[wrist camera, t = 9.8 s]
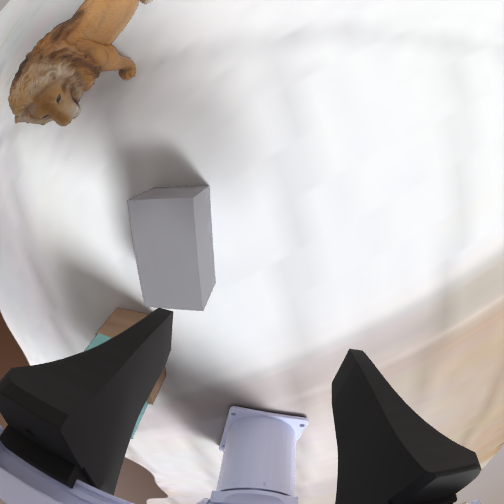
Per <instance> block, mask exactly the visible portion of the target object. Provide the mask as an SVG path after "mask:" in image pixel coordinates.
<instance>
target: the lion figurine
mask: <svg viewBox="0 0 504 504" xmlns="http://www.w3.org/2000/svg"><path fill="white" fill-rule="evenodd" d="M140 1H141V2H142V3H145V4H147V3H149V2H151V1H152V0H140ZM138 3H139V0H85V2H84V3H83V4H82V5H81V6H80V8H79V9H78V10H77V12H76V13H75V14H74V16H73V17H72V18H71V19H69V20H67V21H65V22H63V23H61V24H59V25H57V26H56V27H55V28H54V29H53V30H52V31H51V32H50V33H47V34H46V36H45V37H44V38H43V39H41V40H40V41H39V42H38V43H37V46H35V47H34V48H33V50H32V51H31V52H30V53H28V54H27V55H26V59H25V60H24V61H23V62H22V63H21V64H20V67H19V70H18V72H17V73H16V75H15V78H14V80H13V81H12V85H11V88H10V96H9V97H8V101H9V106H10V108H11V110H12V113H13V114H14V115H15V123H18V122H26V123H33V124H41V125H45V124H46V123H48V122H50V121H53V120H54V121H55V122H56V123H57V124H58V125H60V126H66V125H67V124H69V123H70V122H71V121H72V119H74V118H76V117H77V116H78V115H79V113H80V111H81V108H80V106H79V104H78V102H79V101H80V98H81V97H82V93H83V91H87V90H89V89H90V87H91V86H92V85H93V84H94V81H95V79H96V78H98V76H99V74H100V72H102V71H113V70H119V69H120V71H119V75H120V76H121V78H122V79H123V80H125V79H130V78H132V77H134V76H135V73H136V68H135V64H134V63H133V62H132V61H131V60H130V58H128V57H123V56H121V55H120V54H119V53H118V52H117V50H116V48H115V47H114V46H113V45H111V43H112V42H113V41H114V40H115V39H116V38H117V37H118V35H119V34H120V33H121V32H122V31H123V29H124V28H125V27H126V25H127V24H128V22H129V21H130V19H131V18H132V16H133V15H134V13H135V11H136V9H137V7H138Z"/></svg>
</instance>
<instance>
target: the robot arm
mask: <svg viewBox="0 0 504 504" xmlns="http://www.w3.org/2000/svg"><path fill="white" fill-rule="evenodd" d="M172 321H173V311H169V310H166V309H162V308H158V309H156V310H154V311H153V312H151V313H150V314H149V315H147V316H146V317H144V318H143V319H141V320H140V321H138V322H137V323H136V324H134V325H132V326H131V327H129V328H128V329H126V330H125V331H123V332H122V333H120V334H118V335H116V336H115V337H113V338H111V339H109V340H108V341H106V342H104V343H102V344H100V345H98V346H96V347H94V348H91V349H89V350H87V351H84V352H82V353H79V354H76V355H73V356H70V357H67V358H64V359H61V360H57V361H53V362H49V363H44V364H39V365H33V366H25V367H16V368H11V369H10V370H9V371H8V373H7V374H6V375H5V376H4V377H3V378H2V379H1V380H0V413H1V414H2V416H3V417H4V419H5V421H6V422H7V423H8V426H7V427H6V428H5V430H4V429H3V428H2V427H1V426H0V499H1V500H3V501H4V502H5V503H7V504H133V503H131V502H128V501H126V500H123V499H120V498H118V497H115V496H114V492H115V487H116V484H117V480H118V476H119V473H120V469H121V466H122V463H123V459H124V456H125V453H126V450H127V447H128V444H129V441H130V438H131V436H132V433H133V430H134V427H135V425H136V422H137V420H138V417H139V415H140V413H141V411H142V408H143V407H144V405H145V403H146V401H147V399H148V397H149V395H150V393H151V392H152V390H153V388H154V386H155V384H156V382H157V380H158V378H159V377H160V375H161V373H162V371H163V369H164V366H165V364H166V361H167V358H168V356H169V353H170V350H171V336H172ZM332 408H333V416H334V423H335V431H336V439H337V446H338V479H337V493H336V502H335V504H453V503H454V502H456V501H457V497H456V493H457V492H459V491H460V490H461V489H463V488H464V487H465V486H467V485H468V484H469V483H470V482H472V481H473V480H474V479H475V478H476V477H477V476H478V475H479V473H480V471H481V467H480V464H479V461H478V458H477V456H476V453H475V452H473V451H471V450H469V449H467V448H465V447H463V446H461V445H459V444H457V443H455V442H454V441H452V440H450V439H449V438H447V437H446V436H444V435H443V434H441V433H440V432H438V431H437V430H436V429H434V428H433V427H432V426H430V425H429V424H428V423H427V422H425V421H424V420H423V419H422V418H421V417H420V416H419V415H418V414H416V413H415V412H414V411H413V410H412V409H411V408H410V407H409V406H408V405H407V404H406V403H405V402H404V401H403V399H402V398H401V397H400V396H399V395H398V394H397V393H396V392H395V390H394V389H393V388H392V387H391V386H390V384H389V383H388V382H387V381H386V379H385V378H384V377H383V376H382V374H381V373H380V372H379V370H378V369H377V368H376V367H375V365H374V364H373V363H372V361H371V360H370V359H369V358H368V356H367V355H366V354H365V353H364V352H363V351H361V350H354V349H349V351H348V353H347V355H346V357H345V359H344V361H343V363H342V364H341V366H340V368H339V370H338V372H337V374H336V376H335V378H334V380H333V382H332ZM307 424H308V419H307V418H305V417H297V416H290V415H283V414H276V413H270V412H264V411H258V410H253V409H248V408H243V407H238V406H232V407H230V410H229V413H228V417H227V421H226V424H225V428H224V432H223V435H222V439H221V443H220V446H219V450H220V451H223V452H224V454H223V459H222V464H221V469H220V475H219V480H218V485H217V490H216V491H212V494H211V498H210V499H207V498H204V499H202V500H201V501H200V502H198V503H197V504H298V497H295V452H296V442H297V440H298V439H299V437H300V436H301V434H302V432H303V431H304V429H305V428H306V426H307ZM466 504H481V503H480V500H478V499H477V500H474V501H471V502H469V503H466Z"/></svg>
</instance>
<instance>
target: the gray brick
mask: <svg viewBox="0 0 504 504" xmlns="http://www.w3.org/2000/svg"><path fill="white" fill-rule="evenodd" d="M127 201H128V209H129V217H130V224H131V232H132V238H133V245H134V251H135V257H136V263H137V269H138V274H139V280H140V285H141V290H142V295H143V300H144V304H145V307H156V308H168V309H181V310H196V311H204V308H205V306H206V304H207V301H208V299H209V297H210V294H211V292H212V290H213V287H214V285H215V283H216V281H215V268H214V254H213V239H212V223H211V206H210V186H185V187H163V188H152V189H150V190H148V191H146V192H144V193H142V194H140V195H138V196H136V197H134V198H131V199H129V200H127Z"/></svg>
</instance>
